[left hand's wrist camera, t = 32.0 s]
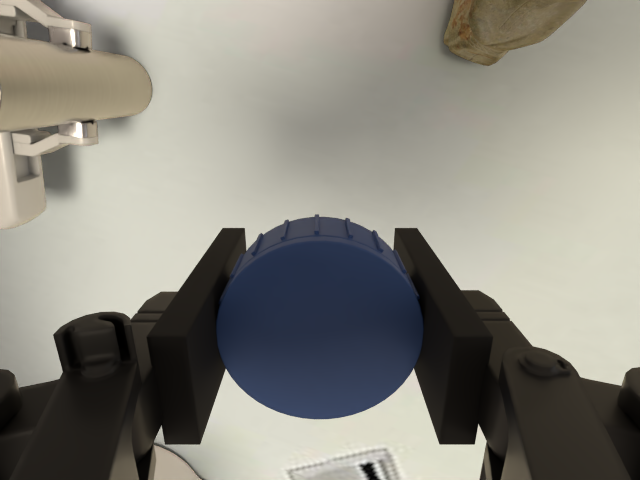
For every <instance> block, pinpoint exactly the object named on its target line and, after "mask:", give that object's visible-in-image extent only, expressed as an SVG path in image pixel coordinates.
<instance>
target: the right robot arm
mask: <svg viewBox="0 0 640 480" xmlns="http://www.w3.org/2000/svg"><path fill="white" fill-rule="evenodd" d="M26 21H29V22H37V23H38V22H39V23H41V24H42V25H43V26H45V27H46V28H48V30H49V38H50V42H52V43H58V44H63V45H68V46H73V47H78V48H84V49H90V50H92V34H91V24H87V23H84V22H80V21H75V20H70V19H64V18H63V17H61V16H60V15H59V14H57V13H56V12H55V11H53V10H52V9H51V8H49V7H48V6H47V5H45V4H44V3H43V2H41V1H40V0H0V33H2V34H7V35H13V36H19V37H24V38H27V29H26ZM69 144H73V145H81V146H89V145H94V144H98V131H97V122H96V121H87V122H79V123H72V124H64V125H58V133H56V134H54V135H51V134H50V132H46V131H39V130H38V128H33V129H26V130H18V131H10V132H3V133H0V229H10V228H14V227H17V226H20V225H23V224H25V223H27V222H29V221H31V220H33V219H34V218H36V217H37V216H39V215H40V214H41V213H42V212H44V211H45V209H46V197H45V188H44V180H43V171H42V162H41V155H42V154H47V153H51V152H54V151H56V150H58V149H60V148H63V147H65V146H67V145H69ZM154 448H155V454H156V466H155V474H154V480H202V479H200V478H199V477H198V476H197V475H196V474H195V472H194V471H193V470H192V469H191V467H190V466H189V465H188V464H187V463H186V462H185V461H183V460H182V459H181V458H180V457H178V456H177V455H175V454H174V453H172V452H170V451H168V450H166V449H164V448H161V447H159V446H156V445H154Z"/></svg>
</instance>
